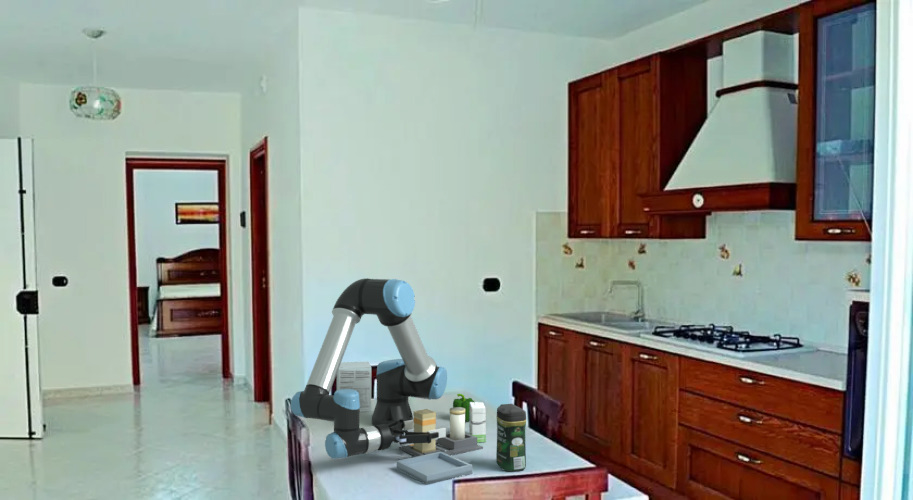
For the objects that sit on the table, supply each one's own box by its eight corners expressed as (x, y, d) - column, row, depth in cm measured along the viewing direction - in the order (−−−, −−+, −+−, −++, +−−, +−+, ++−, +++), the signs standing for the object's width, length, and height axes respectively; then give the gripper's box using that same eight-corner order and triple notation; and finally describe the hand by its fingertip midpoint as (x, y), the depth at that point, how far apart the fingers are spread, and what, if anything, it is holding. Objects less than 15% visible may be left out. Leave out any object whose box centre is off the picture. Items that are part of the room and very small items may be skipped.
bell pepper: (478, 418, 270) (478, 392, 270) (471, 424, 262) (471, 396, 262) (457, 416, 273) (457, 390, 273) (449, 422, 265) (450, 395, 265)
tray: (396, 469, 212) (396, 460, 211) (440, 459, 221) (440, 451, 221) (426, 484, 199) (426, 475, 199) (472, 473, 208) (472, 465, 208)
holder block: (399, 448, 232) (399, 439, 232) (454, 437, 245) (454, 428, 245) (425, 461, 219) (425, 451, 219) (482, 448, 233) (482, 439, 233)
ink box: (486, 442, 239) (486, 407, 239) (471, 442, 239) (471, 407, 239) (483, 435, 248) (483, 401, 248) (468, 435, 248) (469, 401, 247)
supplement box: (371, 411, 280) (372, 367, 280) (337, 413, 277) (337, 368, 277) (368, 403, 293) (368, 361, 293) (336, 405, 290) (336, 362, 290)
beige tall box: (413, 451, 229) (413, 411, 228) (426, 448, 232) (426, 409, 232) (422, 455, 225) (422, 414, 224) (435, 452, 228) (436, 412, 227)
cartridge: (446, 444, 237) (446, 408, 236) (458, 442, 240) (459, 406, 239) (455, 448, 232) (455, 411, 232) (468, 445, 235) (468, 409, 235)
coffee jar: (492, 463, 218) (493, 402, 217) (516, 461, 220) (517, 401, 220) (504, 473, 208) (505, 410, 208) (529, 470, 211) (530, 408, 211)
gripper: (355, 440, 227) (411, 430, 240) (396, 461, 207) (455, 448, 220) (355, 417, 227) (411, 408, 240) (396, 435, 207) (455, 424, 220)
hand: (432, 427), depth 230 cm, fingers open, 13 cm apart
